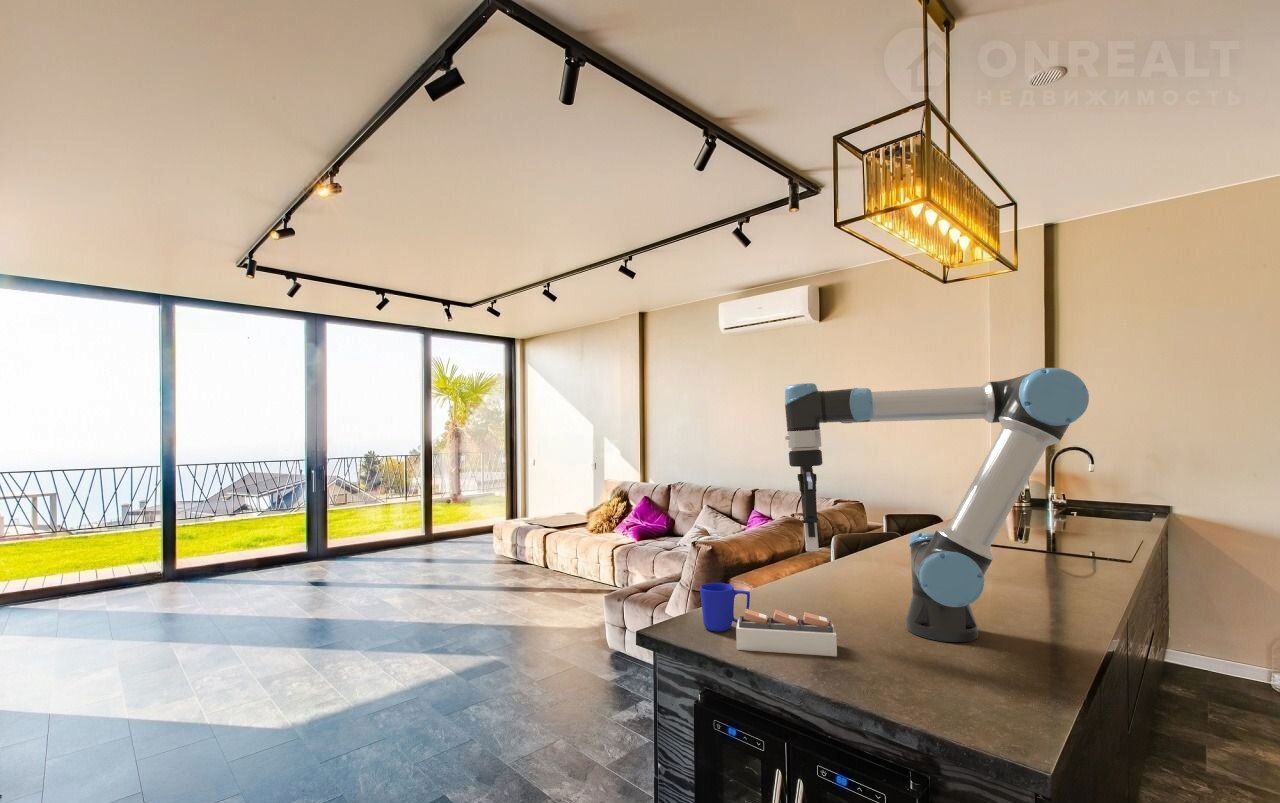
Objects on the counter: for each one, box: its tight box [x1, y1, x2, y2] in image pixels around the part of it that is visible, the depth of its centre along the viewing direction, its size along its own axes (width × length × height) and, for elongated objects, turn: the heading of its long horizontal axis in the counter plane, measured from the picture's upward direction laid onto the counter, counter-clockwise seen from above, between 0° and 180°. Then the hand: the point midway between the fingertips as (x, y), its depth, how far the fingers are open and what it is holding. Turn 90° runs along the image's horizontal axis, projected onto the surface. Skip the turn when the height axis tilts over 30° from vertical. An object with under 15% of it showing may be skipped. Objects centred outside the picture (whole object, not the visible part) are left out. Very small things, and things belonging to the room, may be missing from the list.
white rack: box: [735, 615, 838, 657], centre depth 127 cm, size 21×7×6 cm, turn 77°
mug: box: [699, 582, 751, 633], centre depth 140 cm, size 8×12×10 cm
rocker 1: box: [743, 608, 768, 624], centre depth 129 cm, size 5×3×2 cm, turn 76°
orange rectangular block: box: [802, 611, 829, 627], centre depth 126 cm, size 5×3×2 cm, turn 76°
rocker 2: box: [772, 609, 799, 625], centre depth 127 cm, size 5×3×2 cm, turn 76°
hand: (812, 550), depth 134 cm, fingers closed
